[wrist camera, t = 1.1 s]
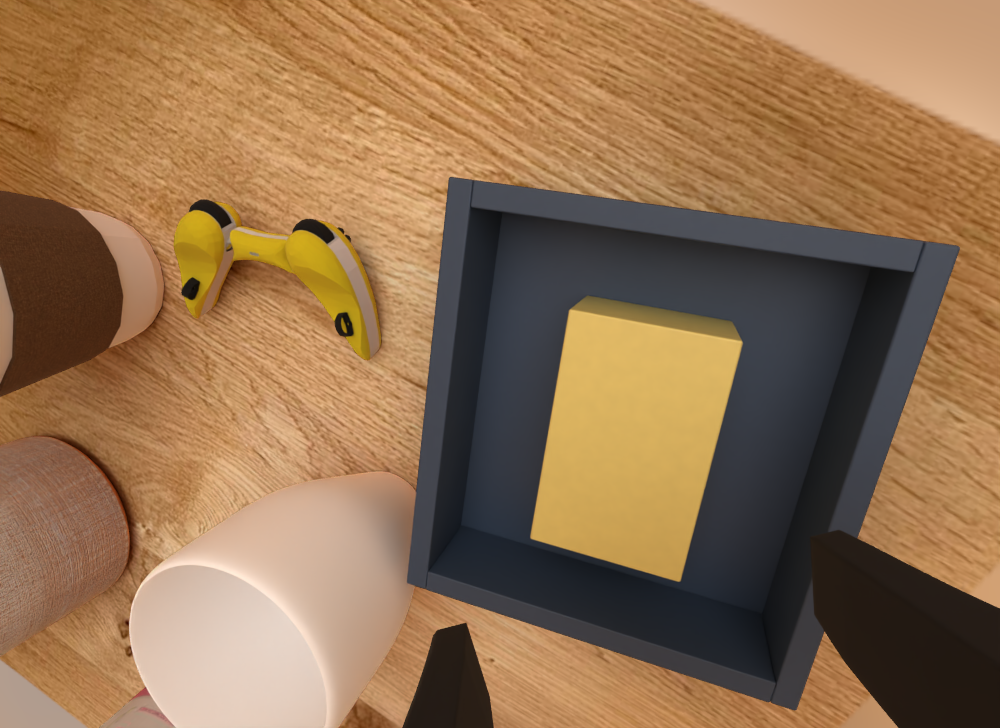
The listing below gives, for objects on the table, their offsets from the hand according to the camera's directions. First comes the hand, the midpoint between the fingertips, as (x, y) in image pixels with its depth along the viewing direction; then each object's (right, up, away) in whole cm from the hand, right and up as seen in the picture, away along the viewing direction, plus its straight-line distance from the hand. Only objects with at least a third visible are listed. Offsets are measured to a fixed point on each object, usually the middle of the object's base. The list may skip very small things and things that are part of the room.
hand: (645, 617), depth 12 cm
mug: (-9, -4, +18) cm, 21 cm away
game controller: (-13, +10, +16) cm, 23 cm away
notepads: (+2, +3, +9) cm, 10 cm away
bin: (+3, +4, +13) cm, 14 cm away
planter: (-30, -4, +25) cm, 40 cm away
